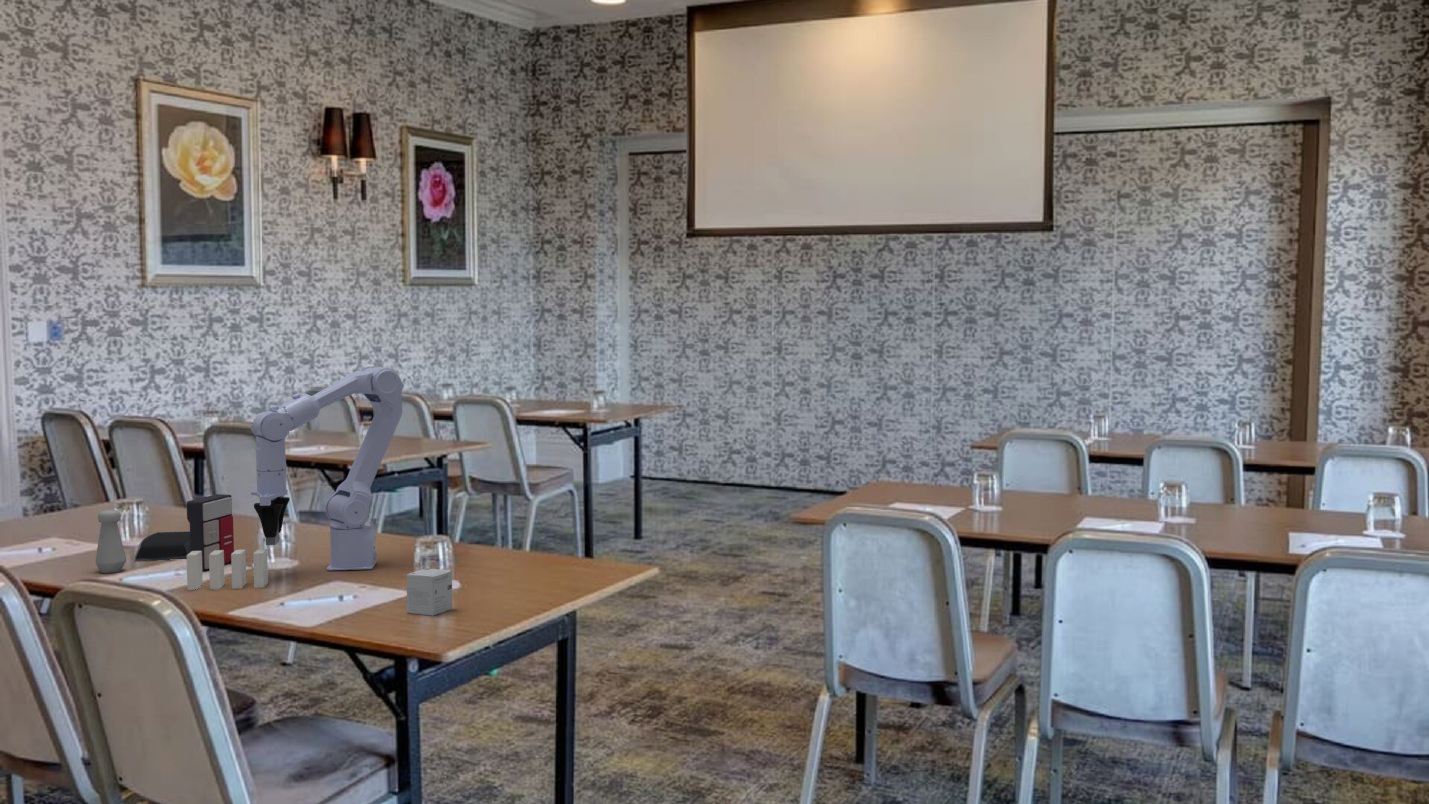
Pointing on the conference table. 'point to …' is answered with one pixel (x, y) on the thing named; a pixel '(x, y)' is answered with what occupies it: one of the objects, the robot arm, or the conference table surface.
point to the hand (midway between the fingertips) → (272, 534)
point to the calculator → (211, 526)
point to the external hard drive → (164, 546)
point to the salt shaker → (110, 543)
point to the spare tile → (273, 538)
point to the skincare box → (429, 591)
